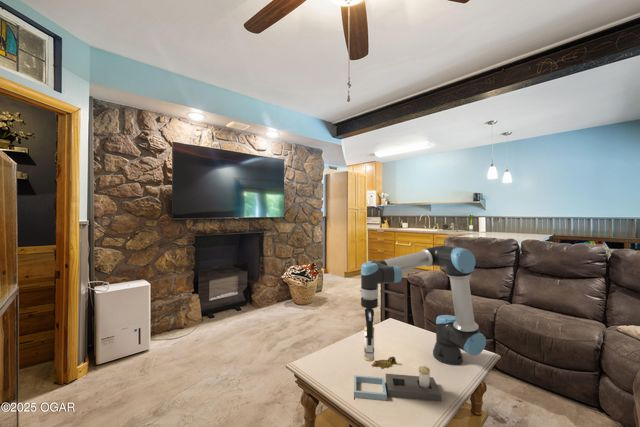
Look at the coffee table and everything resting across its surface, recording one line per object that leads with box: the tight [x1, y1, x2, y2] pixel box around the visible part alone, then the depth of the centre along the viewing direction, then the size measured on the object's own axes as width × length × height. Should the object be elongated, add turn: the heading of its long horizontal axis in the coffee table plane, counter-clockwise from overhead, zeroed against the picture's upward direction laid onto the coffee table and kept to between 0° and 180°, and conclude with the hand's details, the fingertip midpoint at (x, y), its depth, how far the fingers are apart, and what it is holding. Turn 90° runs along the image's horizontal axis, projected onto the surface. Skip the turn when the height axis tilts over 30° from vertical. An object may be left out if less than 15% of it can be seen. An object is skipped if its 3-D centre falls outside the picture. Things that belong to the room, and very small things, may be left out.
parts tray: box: [353, 375, 388, 401], centre depth 121 cm, size 14×12×3 cm
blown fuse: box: [363, 325, 375, 363], centre depth 121 cm, size 5×5×14 cm
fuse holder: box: [385, 373, 442, 403], centre depth 120 cm, size 22×12×4 cm, turn 82°
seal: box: [371, 356, 397, 370], centre depth 141 cm, size 9×5×15 cm
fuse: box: [418, 365, 431, 389], centre depth 120 cm, size 5×5×10 cm
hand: (369, 348), depth 121 cm, fingers closed on blown fuse, 4 cm apart
